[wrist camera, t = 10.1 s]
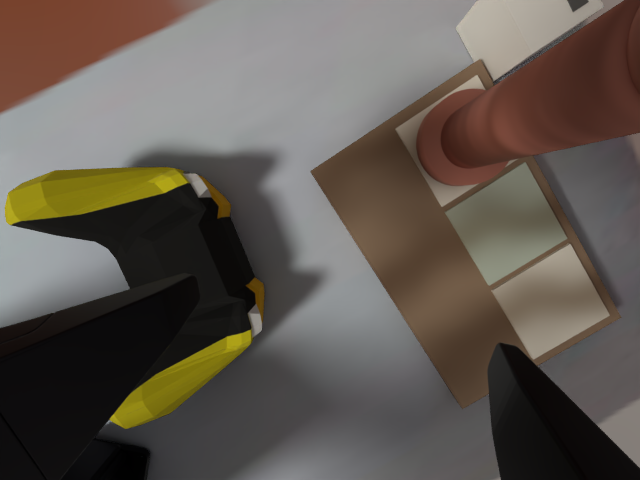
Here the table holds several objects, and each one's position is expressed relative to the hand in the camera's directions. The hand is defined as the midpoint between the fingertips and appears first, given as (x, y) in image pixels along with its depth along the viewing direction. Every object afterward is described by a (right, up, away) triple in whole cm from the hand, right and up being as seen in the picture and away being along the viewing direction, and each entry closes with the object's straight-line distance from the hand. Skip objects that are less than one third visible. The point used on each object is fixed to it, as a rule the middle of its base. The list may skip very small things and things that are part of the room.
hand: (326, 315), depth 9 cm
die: (+11, +15, +10) cm, 21 cm away
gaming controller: (-10, 0, +12) cm, 15 cm away
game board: (+9, +2, +11) cm, 15 cm away
